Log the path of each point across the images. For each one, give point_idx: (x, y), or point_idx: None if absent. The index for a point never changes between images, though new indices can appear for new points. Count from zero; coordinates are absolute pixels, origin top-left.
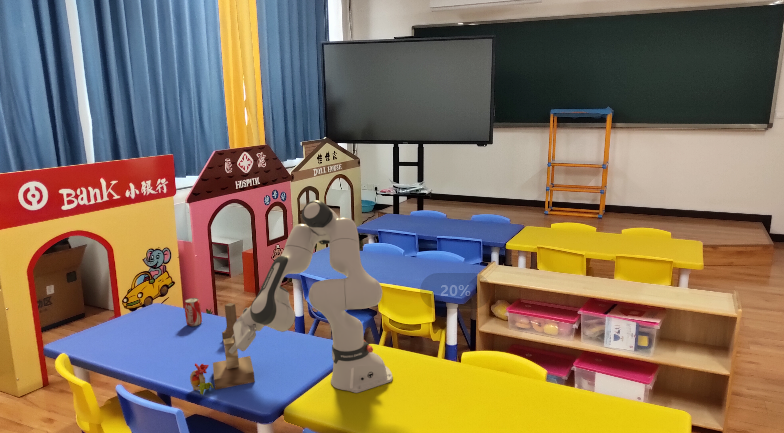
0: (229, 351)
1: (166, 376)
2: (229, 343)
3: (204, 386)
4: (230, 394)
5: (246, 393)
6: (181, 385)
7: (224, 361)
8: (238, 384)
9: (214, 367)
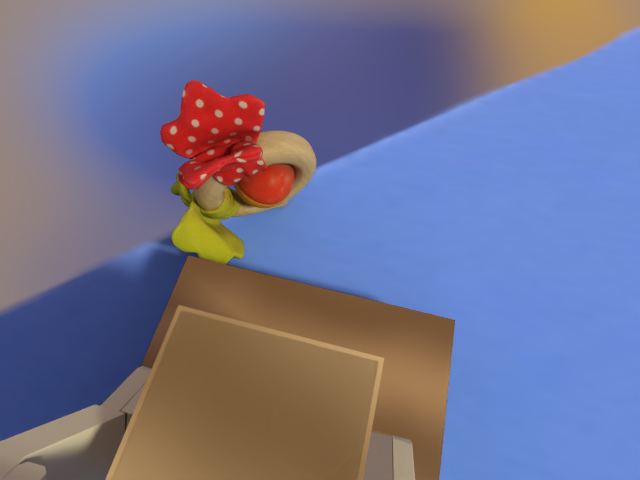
0: (136, 377)
1: (510, 129)
2: (141, 395)
3: (184, 203)
4: (84, 338)
5: (6, 432)
6: (372, 161)
7: (428, 407)
8: None
9: (367, 308)
